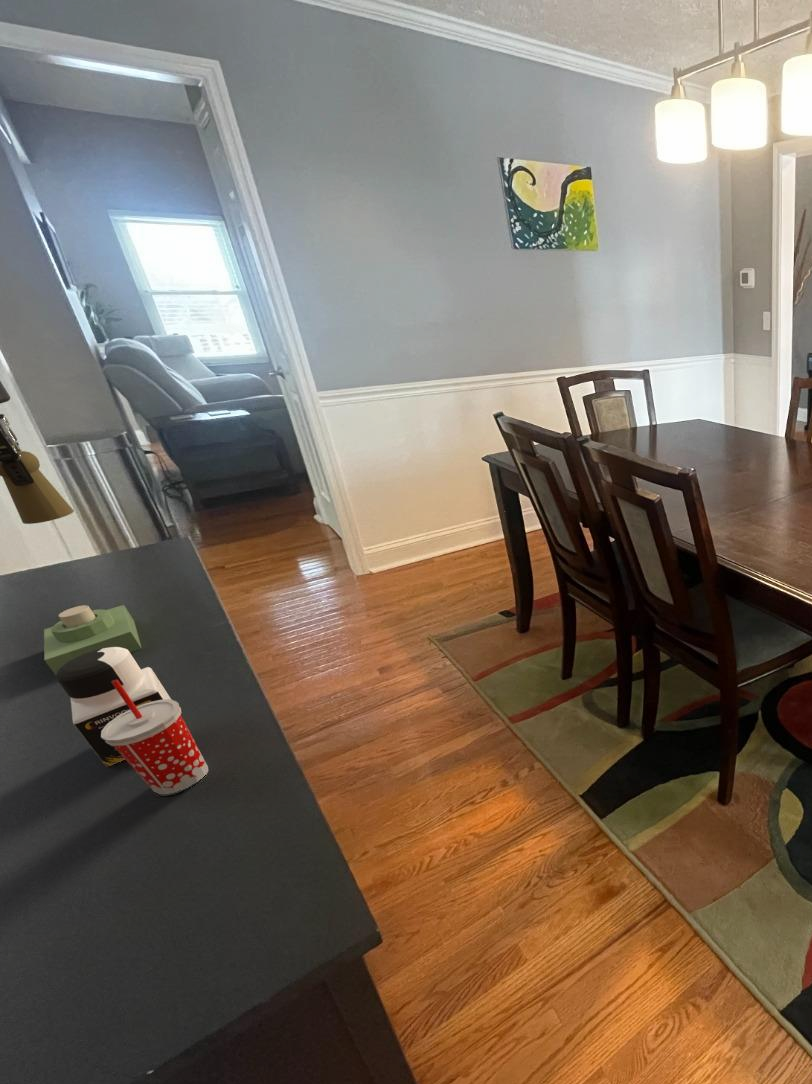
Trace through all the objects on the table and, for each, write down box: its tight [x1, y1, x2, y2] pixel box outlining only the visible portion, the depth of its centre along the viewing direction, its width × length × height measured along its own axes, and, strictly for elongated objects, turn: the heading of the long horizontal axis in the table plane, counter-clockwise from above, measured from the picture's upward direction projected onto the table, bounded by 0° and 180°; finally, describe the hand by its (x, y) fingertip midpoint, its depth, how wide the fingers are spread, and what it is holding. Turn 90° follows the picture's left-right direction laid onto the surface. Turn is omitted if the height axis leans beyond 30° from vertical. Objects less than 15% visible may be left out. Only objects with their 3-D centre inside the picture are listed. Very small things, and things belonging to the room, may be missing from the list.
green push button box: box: [43, 604, 143, 676], centre depth 90 cm, size 12×9×5 cm
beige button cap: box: [58, 604, 96, 628], centre depth 88 cm, size 3×3×2 cm
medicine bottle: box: [55, 647, 172, 768], centre depth 70 cm, size 7×7×12 cm
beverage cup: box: [101, 680, 209, 794], centre depth 63 cm, size 6×6×14 cm
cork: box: [0, 450, 74, 525], centre depth 97 cm, size 6×6×11 cm
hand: (25, 480), depth 97 cm, fingers closed on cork, 5 cm apart
